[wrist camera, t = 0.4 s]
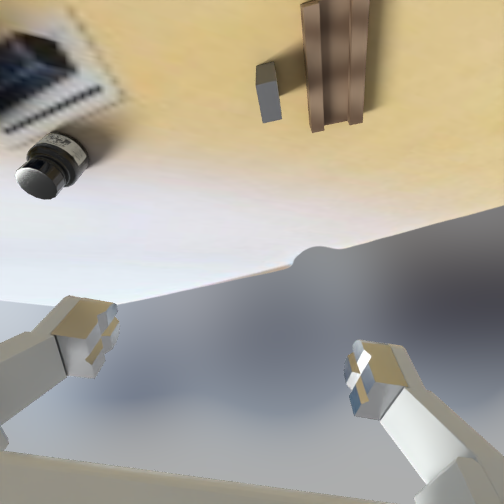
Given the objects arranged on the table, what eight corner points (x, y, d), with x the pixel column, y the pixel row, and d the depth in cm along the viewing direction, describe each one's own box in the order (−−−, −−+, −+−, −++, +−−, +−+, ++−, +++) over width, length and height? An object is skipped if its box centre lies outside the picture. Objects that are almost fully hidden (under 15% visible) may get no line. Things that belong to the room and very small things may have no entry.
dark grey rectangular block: (262, 100, 52) (262, 123, 45) (256, 65, 48) (255, 85, 41) (279, 96, 51) (282, 119, 44) (274, 61, 47) (276, 80, 40)
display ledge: (300, 4, 42) (302, 7, 39) (364, -14, 40) (370, -12, 38) (309, 124, 55) (311, 133, 52) (358, 114, 53) (362, 122, 51)
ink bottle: (93, 143, 58) (66, 175, 50) (91, 177, 64) (66, 211, 56) (40, 122, 55) (1, 152, 47) (42, 160, 61) (8, 192, 53)
